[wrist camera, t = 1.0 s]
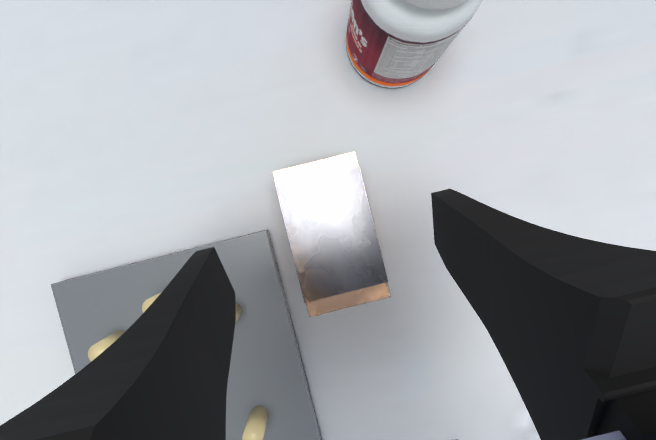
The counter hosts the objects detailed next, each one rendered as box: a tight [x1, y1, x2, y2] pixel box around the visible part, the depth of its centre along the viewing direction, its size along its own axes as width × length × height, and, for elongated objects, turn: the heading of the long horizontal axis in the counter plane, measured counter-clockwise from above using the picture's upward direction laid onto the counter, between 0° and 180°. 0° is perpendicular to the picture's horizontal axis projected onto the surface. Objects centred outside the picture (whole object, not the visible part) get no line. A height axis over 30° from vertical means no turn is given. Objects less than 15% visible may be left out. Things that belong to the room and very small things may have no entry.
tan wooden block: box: [273, 152, 391, 317], centre depth 23 cm, size 8×5×6 cm, turn 14°
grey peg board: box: [51, 230, 322, 440], centre depth 24 cm, size 16×14×4 cm
